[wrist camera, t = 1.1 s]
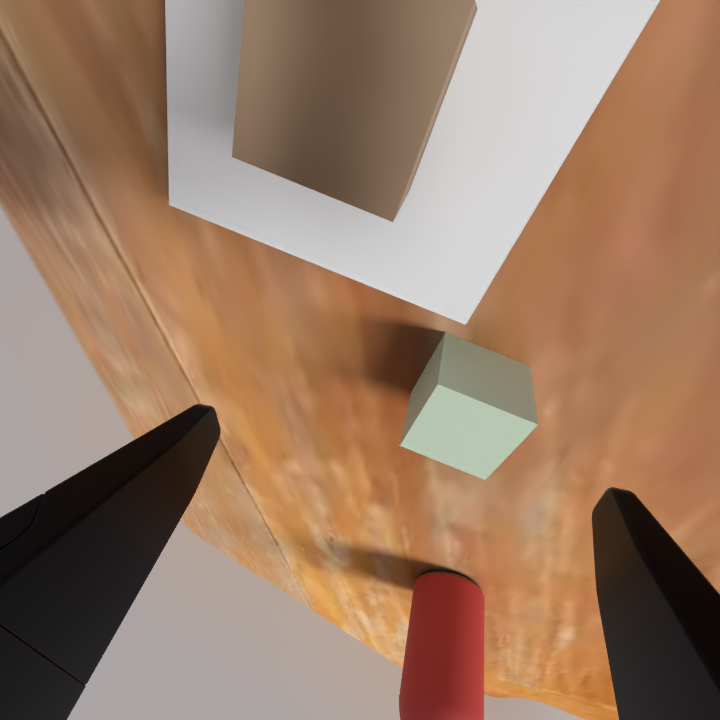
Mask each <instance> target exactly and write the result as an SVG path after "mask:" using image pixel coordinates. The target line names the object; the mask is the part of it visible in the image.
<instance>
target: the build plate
mask: <svg viewBox="0 0 720 720" xmlns="http://www.w3.org/2000/svg"><path fill="white" fill-rule="evenodd" d="M475 1H476V5H477V8H478V10H477V12H476V15H475V18H474V20H473V23H472V26H471V28H470V31H469V34H468V36H467V39H466V42H465V44H464V47H463V50H462V52H461V55H460V58H459V60H458V63H457V66H456V68H455V71H454V74H453V76H452V79H451V82H450V84H449V87H448V90H447V92H446V95H445V98H444V100H443V103H442V106H441V108H440V111H439V114H438V116H437V119H436V122H435V124H434V127H433V130H432V132H431V135H430V138H429V140H428V143H427V145H426V148H425V151H424V153H423V156H422V159H421V161H420V164H419V167H418V169H417V172H416V175H415V177H414V180H413V183H412V185H411V188H410V191H409V192H408V194H407V196H406V198H405V200H404V202H403V204H402V206H401V208H400V210H399V212H398V214H397V216H396V218H395V220H394V222H391V221H389V220H386V219H384V218H381V217H379V216H376V215H374V214H371V213H369V212H366V211H364V210H361V209H359V208H356V207H354V206H352V205H349V204H347V203H344V202H342V201H339V200H337V199H334V198H332V197H329V196H327V195H324V194H322V193H319V192H317V191H314V190H312V189H309V188H307V187H305V186H302V185H300V184H297V183H295V182H292V181H290V180H287V179H285V178H282V177H280V176H277V175H275V174H272V173H270V172H267V171H265V170H263V169H260V168H258V167H255V166H253V165H250V164H248V163H245V162H243V161H240V160H238V159H235V158H233V157H232V148H233V135H234V123H235V110H236V98H237V85H238V73H239V60H240V47H241V35H242V22H243V10H244V0H165V17H166V69H167V121H168V173H169V205H170V206H173V207H175V208H178V209H180V210H183V211H185V212H188V213H190V214H192V215H195V216H197V217H200V218H202V219H205V220H207V221H210V222H212V223H215V224H217V225H220V226H222V227H225V228H227V229H230V230H232V231H235V232H237V233H240V234H242V235H244V236H247V237H249V238H252V239H254V240H257V241H259V242H262V243H264V244H267V245H269V246H272V247H274V248H277V249H279V250H282V251H284V252H287V253H289V254H292V255H294V256H296V257H299V258H301V259H304V260H306V261H309V262H311V263H314V264H316V265H319V266H321V267H324V268H326V269H329V270H331V271H334V272H336V273H339V274H341V275H344V276H346V277H349V278H351V279H353V280H356V281H358V282H361V283H363V284H366V285H368V286H371V287H373V288H376V289H378V290H381V291H383V292H386V293H388V294H391V295H393V296H396V297H398V298H401V299H403V300H405V301H408V302H410V303H413V304H415V305H418V306H420V307H423V308H425V309H428V310H430V311H433V312H435V313H438V314H440V315H443V316H445V317H448V318H450V319H453V320H455V321H457V322H460V323H462V324H465V325H466V323H467V322H468V320H469V318H470V317H471V315H472V313H473V312H474V310H475V308H476V307H477V305H478V303H479V302H480V300H481V298H482V297H483V295H484V293H485V292H486V290H487V288H488V287H489V285H490V283H491V282H492V280H493V278H494V277H495V275H496V273H497V272H498V270H499V268H500V267H501V265H502V263H503V262H504V260H505V258H506V257H507V255H508V253H509V252H510V250H511V248H512V247H513V245H514V243H515V242H516V240H517V238H518V237H519V235H520V233H521V232H522V230H523V228H524V227H525V225H526V223H527V222H528V220H529V218H530V217H531V215H532V213H533V212H534V210H535V208H536V207H537V205H538V203H539V202H540V200H541V198H542V197H543V195H544V193H545V192H546V190H547V188H548V187H549V185H550V183H551V182H552V180H553V178H554V177H555V175H556V173H557V172H558V170H559V168H560V166H561V165H562V163H563V161H564V160H565V158H566V156H567V155H568V153H569V151H570V150H571V148H572V146H573V145H574V143H575V141H576V140H577V138H578V136H579V135H580V133H581V131H582V130H583V128H584V126H585V125H586V123H587V121H588V120H589V118H590V116H591V115H592V113H593V111H594V110H595V108H596V106H597V105H598V103H599V101H600V100H601V98H602V96H603V95H604V93H605V91H606V90H607V88H608V86H609V85H610V83H611V81H612V80H613V78H614V76H615V75H616V73H617V71H618V70H619V68H620V66H621V65H622V63H623V61H624V60H625V58H626V56H627V55H628V53H629V51H630V50H631V48H632V46H633V45H634V43H635V41H636V40H637V38H638V36H639V35H640V33H641V31H642V30H643V28H644V26H645V25H646V23H647V21H648V20H649V18H650V16H651V15H652V13H653V11H654V10H655V8H656V6H657V5H658V3H659V1H660V0H475Z"/></svg>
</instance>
